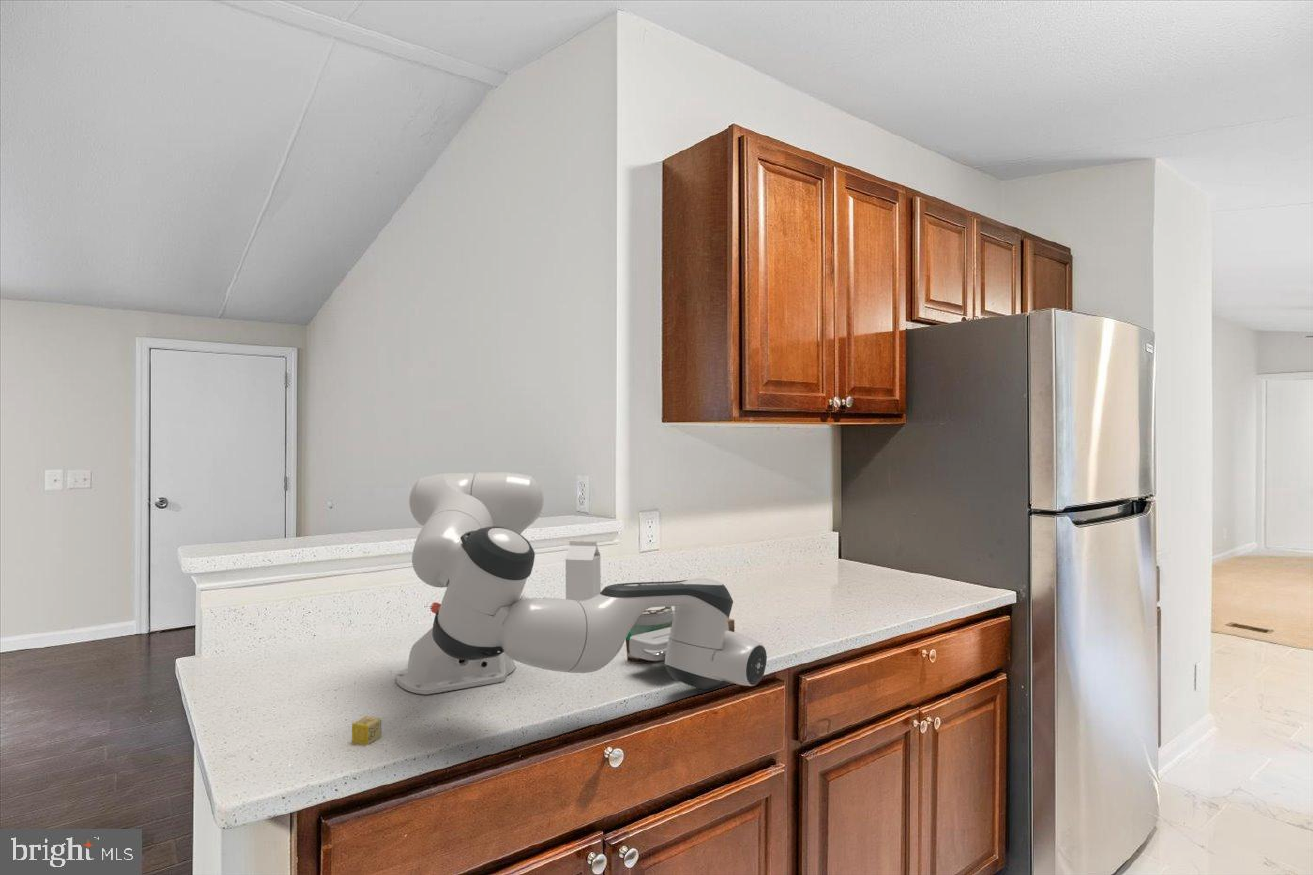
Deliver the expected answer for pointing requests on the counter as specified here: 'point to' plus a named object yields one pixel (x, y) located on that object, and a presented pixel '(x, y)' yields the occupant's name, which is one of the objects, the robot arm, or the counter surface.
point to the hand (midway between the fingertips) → (651, 631)
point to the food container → (649, 627)
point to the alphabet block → (366, 730)
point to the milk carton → (582, 571)
